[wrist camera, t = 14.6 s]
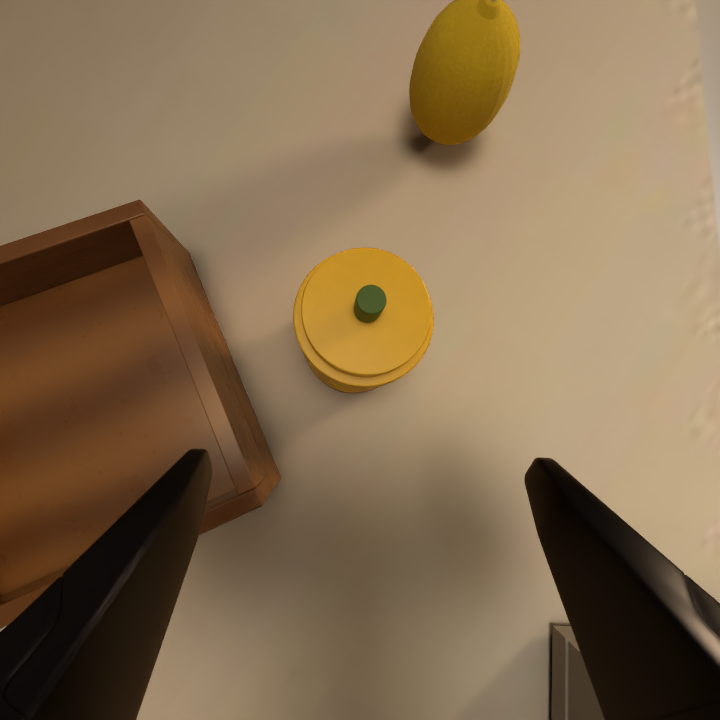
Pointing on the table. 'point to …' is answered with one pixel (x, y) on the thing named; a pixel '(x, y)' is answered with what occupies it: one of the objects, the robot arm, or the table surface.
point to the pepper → (362, 319)
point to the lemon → (464, 69)
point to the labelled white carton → (571, 680)
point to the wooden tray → (109, 392)
